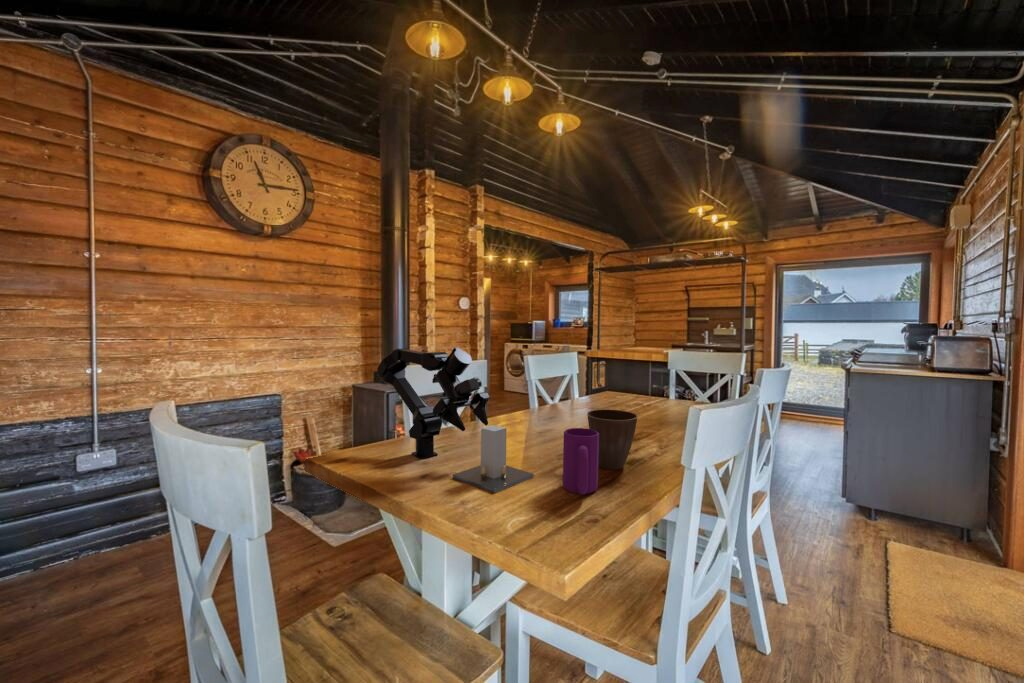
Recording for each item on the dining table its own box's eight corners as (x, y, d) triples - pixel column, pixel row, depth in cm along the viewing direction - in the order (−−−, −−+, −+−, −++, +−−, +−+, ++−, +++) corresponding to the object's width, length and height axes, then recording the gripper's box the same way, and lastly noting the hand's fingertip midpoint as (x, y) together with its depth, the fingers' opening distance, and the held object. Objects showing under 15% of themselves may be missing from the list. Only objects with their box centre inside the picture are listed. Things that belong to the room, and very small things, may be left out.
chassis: (452, 478, 121) (452, 463, 121) (492, 464, 133) (492, 450, 133) (494, 493, 111) (494, 477, 110) (533, 477, 123) (533, 462, 123)
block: (480, 474, 122) (481, 428, 121) (492, 469, 125) (493, 425, 125) (493, 478, 118) (494, 431, 118) (505, 473, 122) (506, 428, 122)
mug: (595, 482, 119) (596, 428, 119) (603, 506, 104) (604, 444, 103) (562, 481, 120) (563, 427, 119) (564, 504, 105) (565, 442, 104)
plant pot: (634, 477, 124) (635, 421, 123) (582, 470, 129) (583, 417, 128) (637, 461, 138) (639, 411, 137) (590, 456, 143) (591, 408, 142)
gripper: (439, 370, 122) (466, 416, 115) (486, 366, 136) (512, 406, 129) (421, 395, 127) (446, 439, 120) (468, 388, 141) (492, 428, 135)
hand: (476, 427), depth 126 cm, fingers open, 9 cm apart
